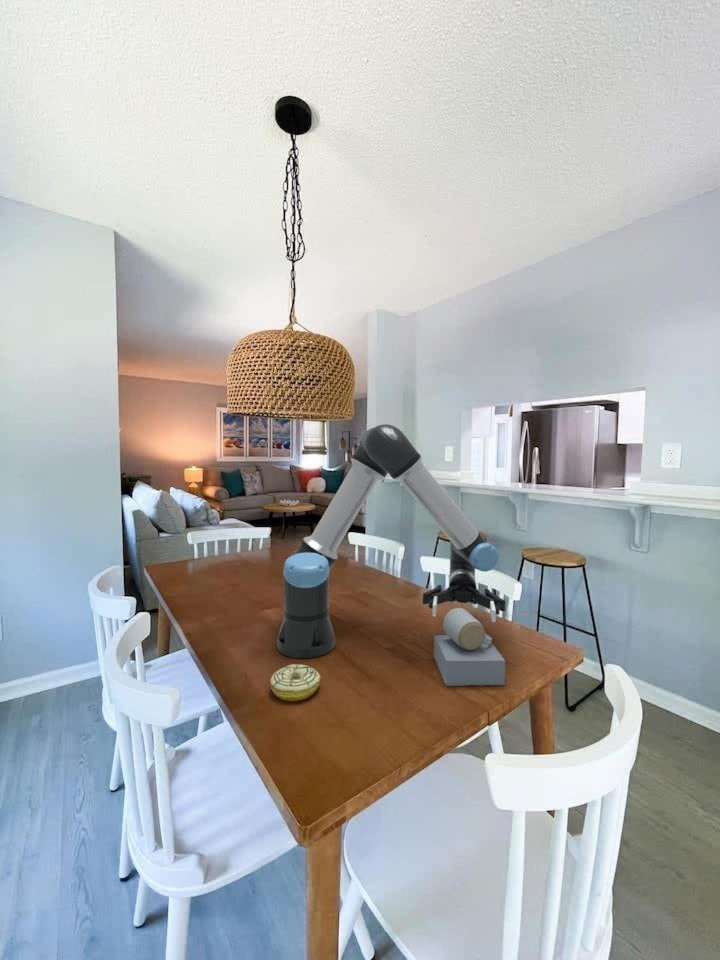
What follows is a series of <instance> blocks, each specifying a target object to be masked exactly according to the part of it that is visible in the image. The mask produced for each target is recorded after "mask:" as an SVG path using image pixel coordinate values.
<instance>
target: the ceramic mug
mask: <svg viewBox="0 0 720 960" xmlns="http://www.w3.org/2000/svg"><path fill="white" fill-rule="evenodd" d="M481 623H482V622H480V621H479V620H478V619H477V618H476V617H474V616H473V614H471V613H470V612H468V610H466V609H465V608H462V607H456V608H452V609H450V610H448V612H447V613H446V614H445V616H444V618H443V621H442V629H443V632H444V633H445V635H448V636H449V637H450V638H451V639H452V640H453V641H454V642H455V643H456V644H458V645H459V646H460V647H461V648H463V649H465V650H475V649H477V648H479V647H480V646H481V645H482V643H483V644H486V645H490V643H491V642H492V640H493V638H492V637H491V636H490V635H489V634H487V633H486V631H485V628H484V625H482V624H481Z"/></svg>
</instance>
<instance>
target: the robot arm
mask: <svg viewBox="0 0 720 960" xmlns="http://www.w3.org/2000/svg"><path fill="white" fill-rule="evenodd" d="M350 461H351V468H350V470H349V471H348V473H347V474H346V476H345V478H344V479H343V481H342V483H341V484H340V486H339V488H338V490H337V491H336V493H335V495H334V496H333V498H332V500H331V502H330V503H329V504H328V507H327V509H326V510H325V512H324V514H323V515H322V517H321V519H320V520H319V522H318V523H317V525H316V526H315V528H314V531H313V532H312V534H311V535H309V536H305V537H303V539H302V541H301V542H300V544H299V545H298V547H297V548H296V550H295V551H294V552H293V553H292V554H291V556H289V557H287V559H286V560H285V562H284V566H283V570H282V573H283V574H282V575H283V577H284V578H283V581H284V582H283V584H284V585H283V586H284V587H283V588H284V589H283V592H284V593H283V599H284V600H283V608H284V609H283V620H282V623H281V626H280V629H279V633H278V635H277V639H276V640H277V641H276V643H277V649H278V651H279V653H280V654H282V655H284V656H287V657H290V658H294V659H313V658H317V657H320V656H321V657H322V656H324V655H327V654H328V653H329V652H331V651H332V650H333V649H334V648H335V646H336V636H335V632H334V631H335V630H334V629H333V628H334V627H333V625H332V622H331V620H330V619H331V618H330V616H329V607H330V606H329V600H330V599H329V593H330V592H329V590H330V588H329V583H330V582H329V581H330V580H329V578H330V577H329V576H330V575H329V574H330V572H331V569H332V568H333V567H334V564H335V562H336V561H337V560H338V552H337V550H338V548H339V546H340V544H341V543H342V541H343V540H344V537H345V536H346V534H347V532H348V531H349V529H350V528H351V526H352V524H353V522H354V521H355V519H356V517H357V516H358V514H359V512H360V510H361V508H363V505H364V504H365V502H366V501H367V498H368V497H369V495H370V493H371V492H372V490H373V489H374V487H375V485H376V483H377V482H378V481H381V480H384V479H386V476H388V475H389V476H390V477H391V478H392V479H393V480H394V481H399V482H400V484H402V486H403V487H404V488H405V489H406V490H407V491H408V492H409V494H410V495H411V496H412V497H413V499H415V500H414V501H416V502H417V503H418V504H419V506H420V507H421V508H422V509H423V510H424V512H425V513H426V514H427V515H428V516H429V517H430V518H431V520H432V521H433V522H434V523H435V524H436V526H437V527H438V528H439V529H440V531H441V532H442V533H443V534H444V536H445V537H447V539H448V540H449V541H450V544H449V545H450V546H449V548H450V550H449V552H450V555H449V557H450V558H449V583H448V587H447V588H444V587H443V586H442V585H441V584H438V585H437V586H436V587H435V588H432V589H430V590H428V591H426V592H424V593H422V604H423V605H428V608H429V609H430V610H431V609H432V617H436V616H437V609H438V605H440V604H444V603H448V602H450V603H453V602H457V603H460V604H467V603H471V604H472V605H477V604H478V605H479V606H481V607H484V608H485V609H488V610H489V614H490V619H491V622H492V623H496V622H497V621H496V617H497V616H496V615H500V611H501V612H506V600H505V599H504V598H502V597H500V596H498V595H496V594H495V593H493V592H491V590H490V589H488V588H484V590H483V591H479V589H478V587H477V582H476V570H478V571H481V572H485V573H487V572H490V571H492V570H493V569H495V568H496V566H497V565H498V563H499V560H500V555H499V552H498V550H497V549H496V547H495V546H494V545H493V544H492V543H489V542H488V541H487V540H486V539H485V538H484V537H483V536H482V534H481V533H480V532H479V530H478V529H476V527H475V526H474V524H472V522H471V521H470V519H468V517H467V516H466V515H465V514H464V512H463V511H462V510H461V509H460V507H459V506H458V505H457V504H456V503H455V502H454V500H453V499H452V498H451V496H450V495H448V493H447V492H446V491H445V490H444V488H443V487H442V486H441V485H440V484H439V481H437V479H436V478H435V477H434V476H433V475H432V473H431V472H430V471H429V470H428V469H427V467H426V465H424V463H423V462H422V456H421V454H420V453H419V452H418V450H417V449H416V447H414V445H413V443H412V442H411V441H410V439H408V437H407V436H406V435H405V433H404V432H403V431H402V430H401V429H400V428H398V427H396V426H395V425H391V424H384V423H383V424H379V425H376V426H374V427H372V428H369V429H367V430H366V431H365V432H364V433H363V435H362V436H361V438H360V440H359V443H358V446H357V447H356V449H355V450H354V452H353V454H352V456H351V457H350Z"/></svg>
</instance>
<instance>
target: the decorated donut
mask: <svg viewBox="0 0 720 960" xmlns="http://www.w3.org/2000/svg"><path fill="white" fill-rule="evenodd" d="M320 681H321V675H320V673H319V672H318V671H317V670H316V669H315V668H313V667H312V666H308V665H305V664H297V663H296V664H294V663H292V664H288V665H286V666H284V667H282V668H280V669H277V670H276V671H275V672H274V673H273V674H272V675H271V678H270V689H271V691H272V693H273V694H274V695H275V696H276V698H279V699H280V700H282V701H287V702H297V701H302V700H303V701H304V700H306V699H308V698H309V697H311V696H312V695H314V694H315V693H316V692H317V690H318V688H319V686H320V683H321V682H320Z"/></svg>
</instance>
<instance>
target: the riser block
mask: <svg viewBox="0 0 720 960" xmlns="http://www.w3.org/2000/svg"><path fill="white" fill-rule="evenodd" d="M433 639H434V641H433V642H434V643H433V644H434V645H433V648H434V649H433V659H434V660H435V662H436V665H437V667H438V670H439V673H440V675H441V677H442V680H443V682H444V684H445V686H447V687H448V686H449V687H450V686H452V687H454V686H455V687H456V686H457V687H458V686H459V687H460V686H461V687H463V686H464V685H465V687H466V685H467V686H468V685H504V686H505V685H506V684H505V680H506V679H505V677H506V676H505V675H506V674H505V673H506V660H505V659H504V657H503V656H502V654H501V653H500V652H499V651H498V648H497V647H496V646H495V645H494V644H493V642H492V641H491V643H490V645H486V644H483V643H482V645H481V646H480V647H479V648H477V649H475V650H465V649H463V648H461V647H460V646H459V645H458V644H456V643H455V642H454V641H453V640H452V639H451V638H450V637H449V636H448V635H447V634H434V637H433Z"/></svg>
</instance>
